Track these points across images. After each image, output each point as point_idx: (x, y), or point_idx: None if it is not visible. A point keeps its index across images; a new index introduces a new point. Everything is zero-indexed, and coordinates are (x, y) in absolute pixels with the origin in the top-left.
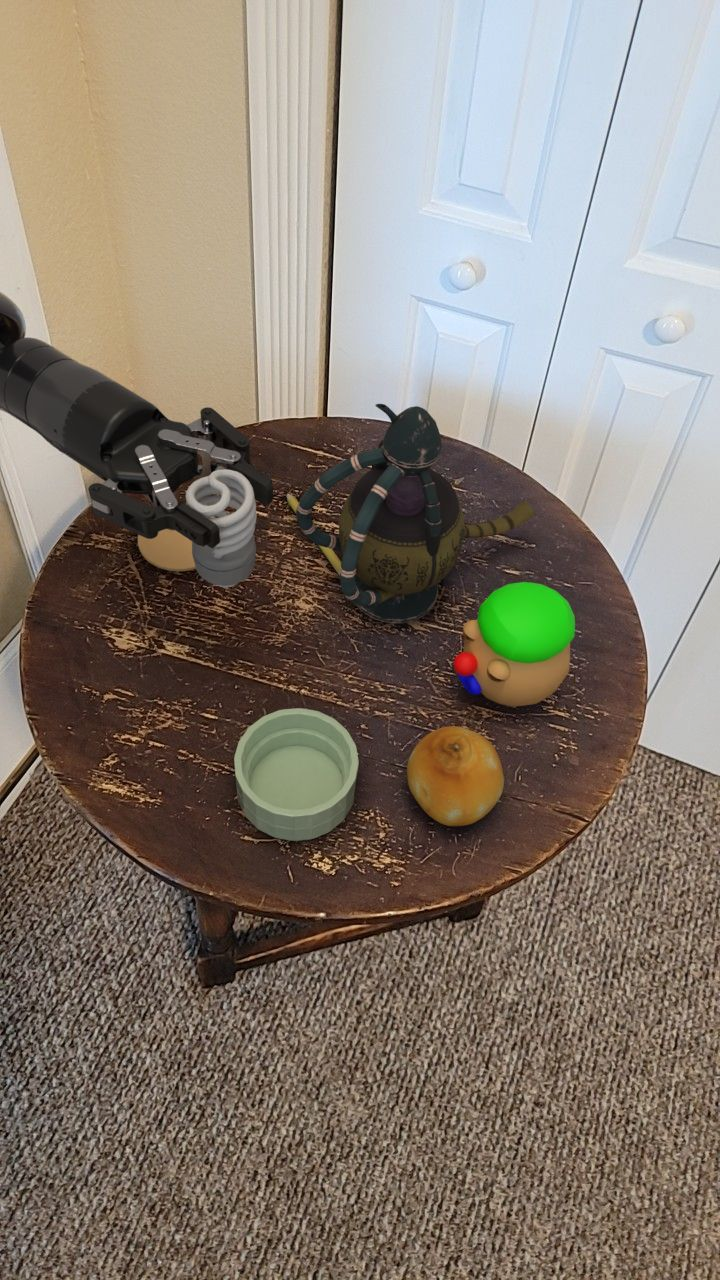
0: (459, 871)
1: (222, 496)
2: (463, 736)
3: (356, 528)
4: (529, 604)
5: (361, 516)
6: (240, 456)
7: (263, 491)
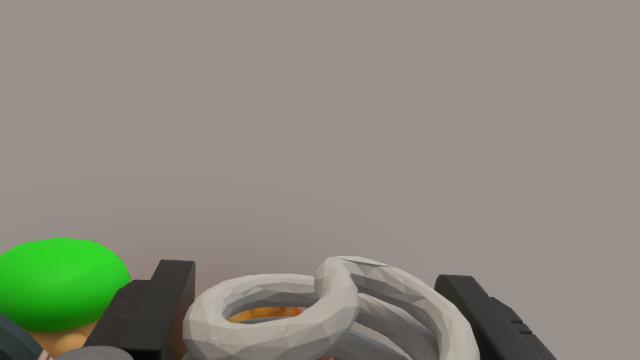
0: (326, 357)
1: (365, 264)
2: (246, 312)
3: (33, 348)
4: (58, 247)
5: (8, 325)
6: (75, 349)
7: (191, 292)
